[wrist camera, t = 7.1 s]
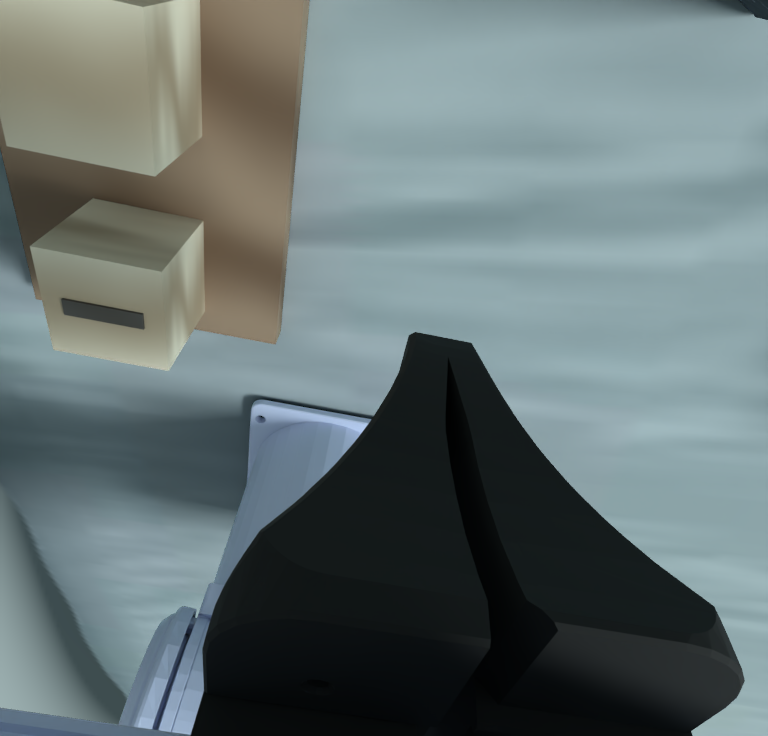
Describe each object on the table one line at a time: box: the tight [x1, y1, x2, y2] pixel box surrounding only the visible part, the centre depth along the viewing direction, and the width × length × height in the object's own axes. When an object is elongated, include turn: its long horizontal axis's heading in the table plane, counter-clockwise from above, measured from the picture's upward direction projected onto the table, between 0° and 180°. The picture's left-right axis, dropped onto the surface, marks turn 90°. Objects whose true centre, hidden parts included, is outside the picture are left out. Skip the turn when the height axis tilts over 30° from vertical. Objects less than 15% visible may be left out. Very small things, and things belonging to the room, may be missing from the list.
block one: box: [30, 198, 205, 371], centre depth 20 cm, size 4×4×4 cm
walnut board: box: [0, 0, 309, 344], centre depth 17 cm, size 20×10×1 cm, turn 169°
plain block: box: [0, 0, 202, 177], centre depth 15 cm, size 4×4×4 cm
